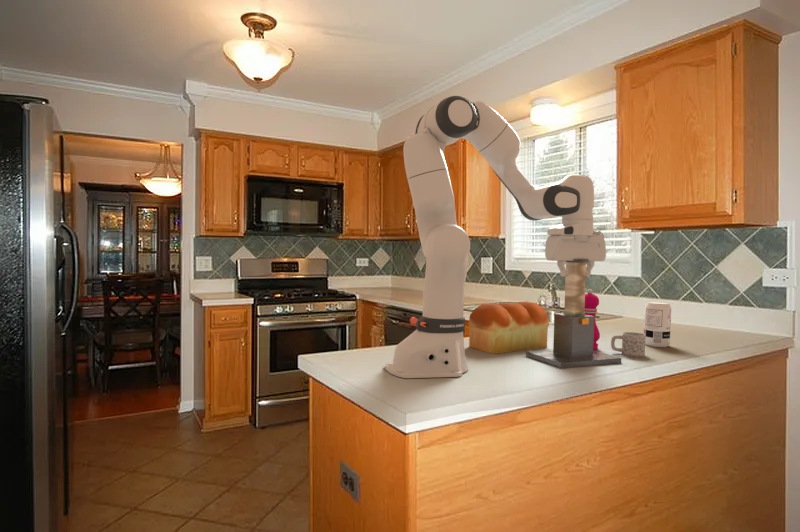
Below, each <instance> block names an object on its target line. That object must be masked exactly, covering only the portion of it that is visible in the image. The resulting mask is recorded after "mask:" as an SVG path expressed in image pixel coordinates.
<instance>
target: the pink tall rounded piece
mask: <svg viewBox="0 0 800 532" xmlns="http://www.w3.org/2000/svg"><path fill="white" fill-rule="evenodd" d="M586 292H587V293H585V307H584V314H585V315H590V316H594V341H593V350H595V351H597V350H598V349H599V343H598V341H599V340H600V337H601V335H600V329H599V327H598V325H597V321H596V314H597V313H598V308H597V307H598V306H599V305H600V299H599V297H598V296H597V295H596V294H593V293H594V292H593V289H592V288H588V289H587V291H586Z"/></svg>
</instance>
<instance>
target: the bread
mask: <svg viewBox="0 0 800 532" xmlns="http://www.w3.org/2000/svg"><path fill="white" fill-rule="evenodd" d="M467 325H468V327H469V339H468V341H469V343H468V344H469V345H468V347H469V348H473V349H475V350H478V349H479V351H482V352H485V351H486V352H485V353H489V352H490V353H489V354H492V353H493V355H496V353H497V354H503V353H504V352H505V353H510V352H520V351H527V350H533V349H542V348H548V330H549V329H548V328H549V327H550V320H549V314H548V313H547V312H546V310H545V308H543V306H541V305H540V304H538V303H537V302H532V301H518V302H499V303H498V304H496V303H495V304H494V303H481V304H480V305H478V306H477V307H475V308H474V309H473V310H472V312H471V313H470V314H469V319H468V324H467Z"/></svg>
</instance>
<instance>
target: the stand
mask: <svg viewBox="0 0 800 532" xmlns="http://www.w3.org/2000/svg"><path fill="white" fill-rule="evenodd" d="M553 315H554V317H553V318H554V319H553V320H554V321H553V343H552V345H553V347H552V349H540V350H537V349H536V350H528V351H527V350H525V357H528V358H530V359H532V360H536V361H538V362H541V363H544V364H547V365H550V366H553V367H556V368H559V369H570V368H581V367H583V368H584V367H593V366H602V365H604V366H605V365H612V364H613V365H614V364H622V357H619V356H615V355H612V354H608V353H605V352H602V351H597V350H593V341H594V316H590V315H585V316H569V315H564V312H557V313H556V312H555V313H554V314H553Z"/></svg>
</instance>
